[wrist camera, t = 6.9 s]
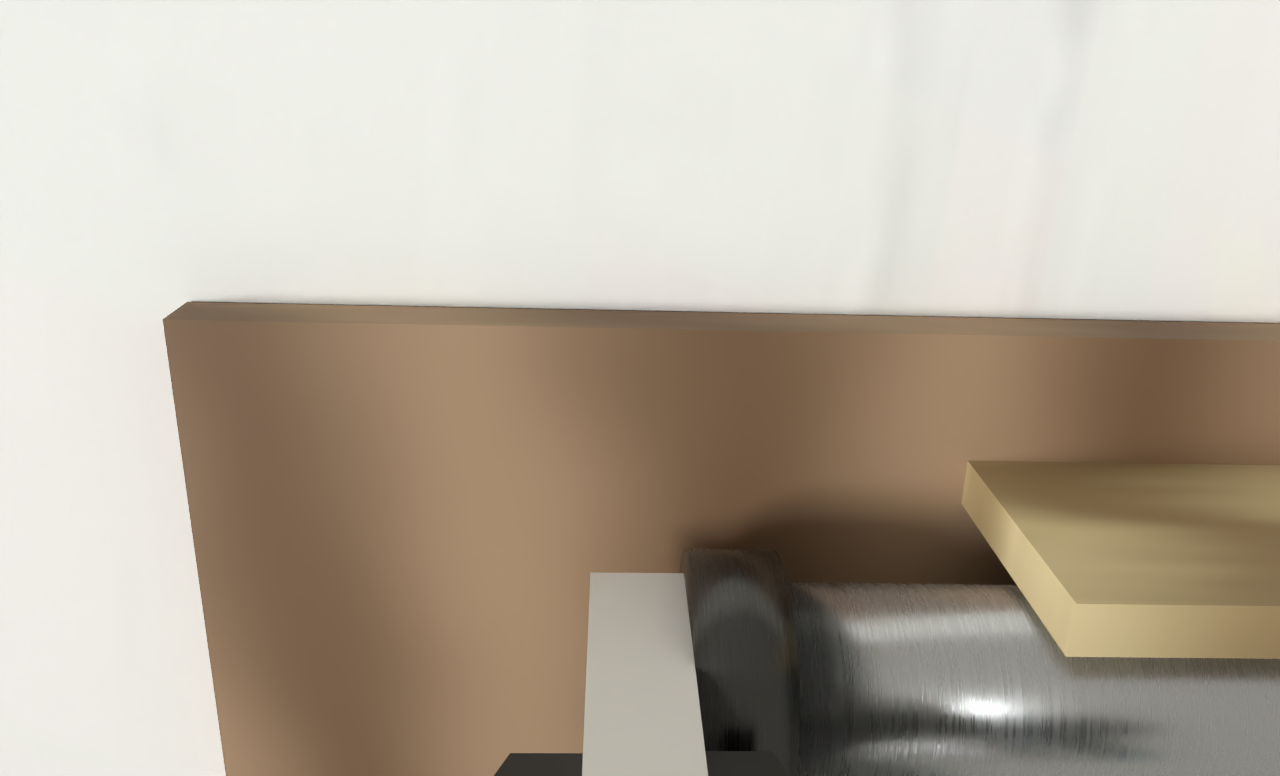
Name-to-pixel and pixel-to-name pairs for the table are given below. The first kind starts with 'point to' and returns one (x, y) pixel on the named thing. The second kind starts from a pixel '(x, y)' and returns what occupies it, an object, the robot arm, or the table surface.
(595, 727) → the robot arm
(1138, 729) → the tube
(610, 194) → the table surface
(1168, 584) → the base
